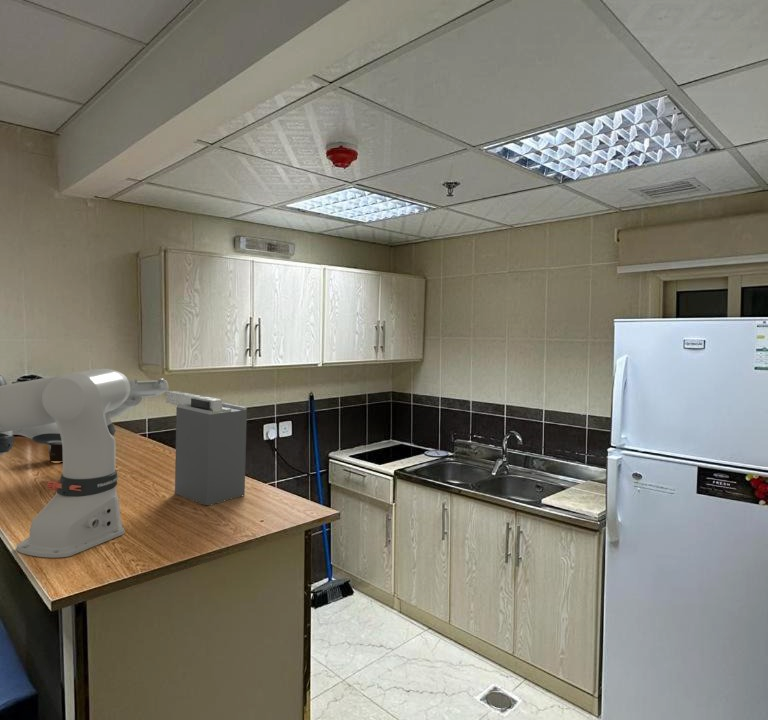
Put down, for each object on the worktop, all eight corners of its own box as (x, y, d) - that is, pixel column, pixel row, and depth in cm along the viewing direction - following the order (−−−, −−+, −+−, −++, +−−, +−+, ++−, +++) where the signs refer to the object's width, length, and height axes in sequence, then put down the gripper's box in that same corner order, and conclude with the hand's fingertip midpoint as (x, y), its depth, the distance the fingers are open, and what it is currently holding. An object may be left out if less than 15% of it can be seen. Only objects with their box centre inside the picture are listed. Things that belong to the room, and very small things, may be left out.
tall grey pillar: (244, 495, 157) (246, 407, 155) (206, 506, 146) (209, 411, 145) (212, 484, 166) (214, 400, 165) (174, 493, 156) (176, 404, 154)
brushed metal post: (222, 411, 149) (222, 399, 149) (211, 413, 147) (211, 400, 146) (174, 401, 164) (175, 390, 163) (164, 402, 161) (164, 391, 161)
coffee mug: (72, 463, 183) (72, 435, 182) (43, 464, 180) (43, 436, 179) (78, 455, 194) (78, 428, 193) (51, 456, 190) (51, 429, 190)
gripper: (157, 402, 183) (180, 388, 176) (98, 406, 166) (120, 391, 159) (153, 385, 184) (175, 371, 177) (94, 387, 167) (116, 372, 160)
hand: (149, 380), depth 168 cm, fingers open, 8 cm apart
